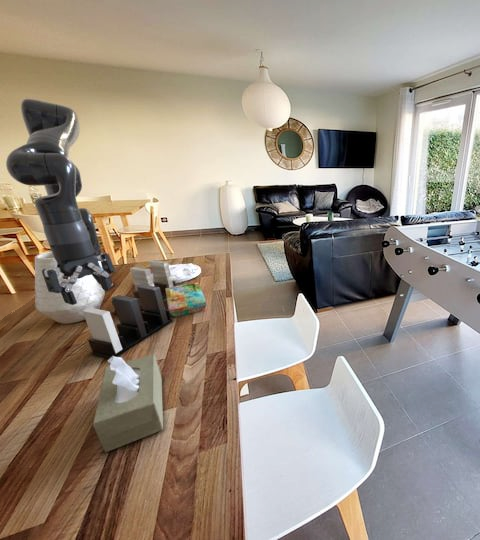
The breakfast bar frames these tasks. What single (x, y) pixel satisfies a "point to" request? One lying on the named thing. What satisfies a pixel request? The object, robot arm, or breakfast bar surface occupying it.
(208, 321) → the breakfast bar surface
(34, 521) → the breakfast bar surface
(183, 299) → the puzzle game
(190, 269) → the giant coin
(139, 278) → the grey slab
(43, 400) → the breakfast bar surface
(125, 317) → the grey rack
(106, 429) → the tissue box
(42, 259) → the vase
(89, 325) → the white book
